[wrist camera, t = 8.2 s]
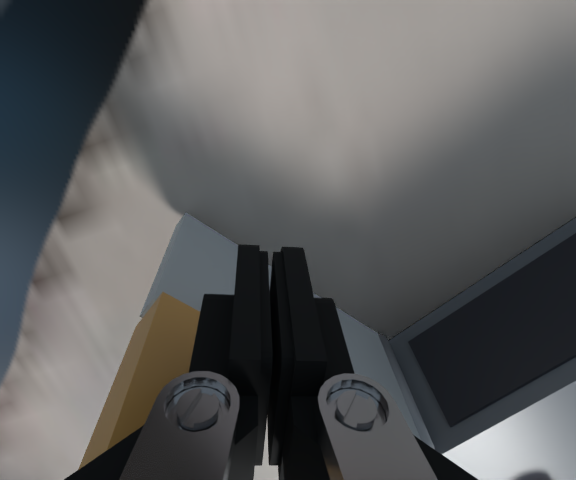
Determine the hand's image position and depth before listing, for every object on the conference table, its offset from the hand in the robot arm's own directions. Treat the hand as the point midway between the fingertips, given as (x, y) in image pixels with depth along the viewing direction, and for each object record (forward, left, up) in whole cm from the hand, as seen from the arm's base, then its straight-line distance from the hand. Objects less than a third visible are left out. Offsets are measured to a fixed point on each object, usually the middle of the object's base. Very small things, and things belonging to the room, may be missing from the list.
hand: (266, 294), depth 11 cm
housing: (+5, -16, -8) cm, 19 cm away
